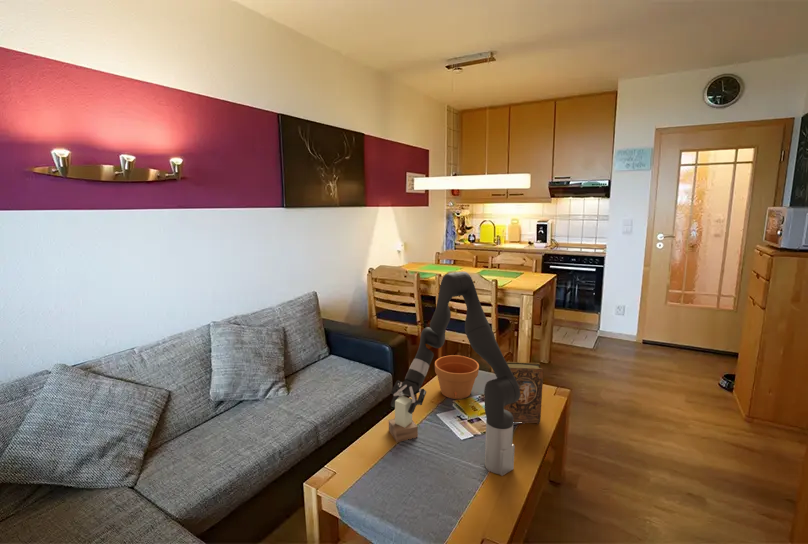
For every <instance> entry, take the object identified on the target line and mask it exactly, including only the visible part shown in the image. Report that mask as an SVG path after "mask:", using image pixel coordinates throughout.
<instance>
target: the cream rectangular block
mask: <svg viewBox="0 0 808 544" xmlns="http://www.w3.org/2000/svg"><path fill="white" fill-rule="evenodd" d="M411 403H413V402H412V398H411V397H410V398H409V397H407V396H406V395H403V396H400V397H399V398H398V399H397V400H395V407H394V419H395V424H397V425H400V426H402V427H404V428H405V427H407V426H408V425H409V424H410V423H412V420H413V413H412V414H410V413H409V412H408V410H409V408H410V405H411Z"/></svg>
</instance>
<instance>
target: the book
mask: <svg viewBox="0 0 808 544" xmlns="http://www.w3.org/2000/svg"><path fill="white" fill-rule="evenodd" d="M506 363H507V364H508V366H509V368H510V370H511V372H512V373H513V375H514V377H515V379H516V381H517V383H518V386H519V389H520V398H519V400H518V401H516V402H514V403H511V404H508V405H505V406H504V409H505V410H507V411H509V412H510V413H511V414H512V415H513V418H514V421H513V422H522V423H521V424H525V423H537V424H536V425H539V424H541V419H542V417H541V415H542V399H543V383H544V369H543V368H542V367H541V364H540V363H539V362H516V361H515V362H514V361H506Z"/></svg>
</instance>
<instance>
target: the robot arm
mask: <svg viewBox="0 0 808 544" xmlns="http://www.w3.org/2000/svg"><path fill="white" fill-rule="evenodd" d="M440 281H441V282H440V285H439V290H438V295H437V296H438V297H437V300H436V306H435V309H434V310H435V311H434V312H433V315H432V317H431V320H430V322H429V326H425V328H423V329H422V331H421V333H420V340H419V346H418V349H417V352H416V354H415V357H414V358H413V360H412V362H411V364H410V366H409V368H408V370H407V372H406V375H405V377H404V380H403V381H400V380H399V379H397V380H396V381H395V383H394V385H393V387H392V389H391V391H390V394H392V396H393V397H392V398H391V402H390V406H391V407H393V408H395V400H397V399H398V398H400V397H401V396H405V397H407V396H408V397H410V399H412V402H413V403H411V405H410V408H409V410H408V412H409V413H410V414H412V415H413V413H414V411H415V410H416V408H417V406H422V405H423V403H424V399H425V397H426V395H427V390H426V389H424V388H421V387H422V386H423V383H424V381H425V379H426V377H427V374H428V371H429V369H430V366H431V363H432V361H433V358H434V356H435V355H434V352H433V351H432V350H431V349H429V348H428V347H427V345H428V346H430V347H431V348H435V349H441V348H442V347H443V346H444V345H445V340H446V329H447V327H448V325H449V323H450V320H451V317H452V314H451V313H452V312H451V309H450V306H449V304H450V301H451V300H452V298H454V297H455V298H456V297H462V298H463V301H464V303H465V306H466V314H465V315H466V316H465V321H464V333H465V334H466V338H467V340H468V342H469V343H468V344H469V345H470V346H471V348H472V349H473V351H474V352H475V353H476V354H477V355H479V357H481V358H482V359H483V361H486V363H487V364H488V365H489V366H490V367H491V369H492V371H493V372H494V374H495V377H496V378H494V379H490V380H488V381H487V382H486V383H485V386H484V390H483V391H484V392H483V394H484V395H483V396H484V397H483V400H484V401H483V402H484V414H485V417H486V418H485V422H486V424H485V443H484V444H485V445H484V449H485V450H484V467H485V468H486V469H487V470H488V472H491V473H493V474H497V475H500V476H501V477H503V476H505V475H506V474H508V473H510V472H511V471H513V470H514V465H515V464H514V463H515V450H516V449H515V447H516V446H515V444H514V443H513V437H514V423H513V421H514V418H513V415H512V414H511V413H510V412H509V411H507V410H505V409H504V406H505V405H508V404H511V403H514V402H516V401H518V400H519V398H520V389H519V386H518V383H517V381H516V379H515V377H514V375H513V373H512V372H511V370H510V368H509V366H508V364H507V363H506V362H507V361H506V359H505V357H504V355H503V353H502V350H501V349H500V346H499V344H498V341H497V339H496V337H495V335H494V332H493V329H492V328H491V327H492V326H491V325H490V323H489V321H488V318H487V317H486V314H485V312H484V309H483V307H482V304H481V302H480V299H479V296H478V292H477V289H476V286H475V283H474V281H473V278H472V276H471V274H469V273H468V272H467V271H457V272H449V273H446V274H445V275H444V276H443V277H442V279H441V280H440ZM418 394H419V395H418ZM417 395H418V396H417Z"/></svg>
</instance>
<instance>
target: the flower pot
mask: <svg viewBox="0 0 808 544" xmlns="http://www.w3.org/2000/svg"><path fill="white" fill-rule="evenodd" d="M479 369H480V364H479V362H477V361H476V360H475V359H473V358H471V357H468V356H464V355H458V354H455V355H454V354H451V355H446V356H441V357H439V358H437V359H436V360H435V361H434V372H435V374H436V376H437V381H438V384H439V389H440V392H441V394H442V396H445V397H447V398H449V399H455V400H462V398H463V399H466V398H469V396H471V394H472V391H473V387H474V385H475V382H476V378H478V376H479V371H480V370H479Z"/></svg>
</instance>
